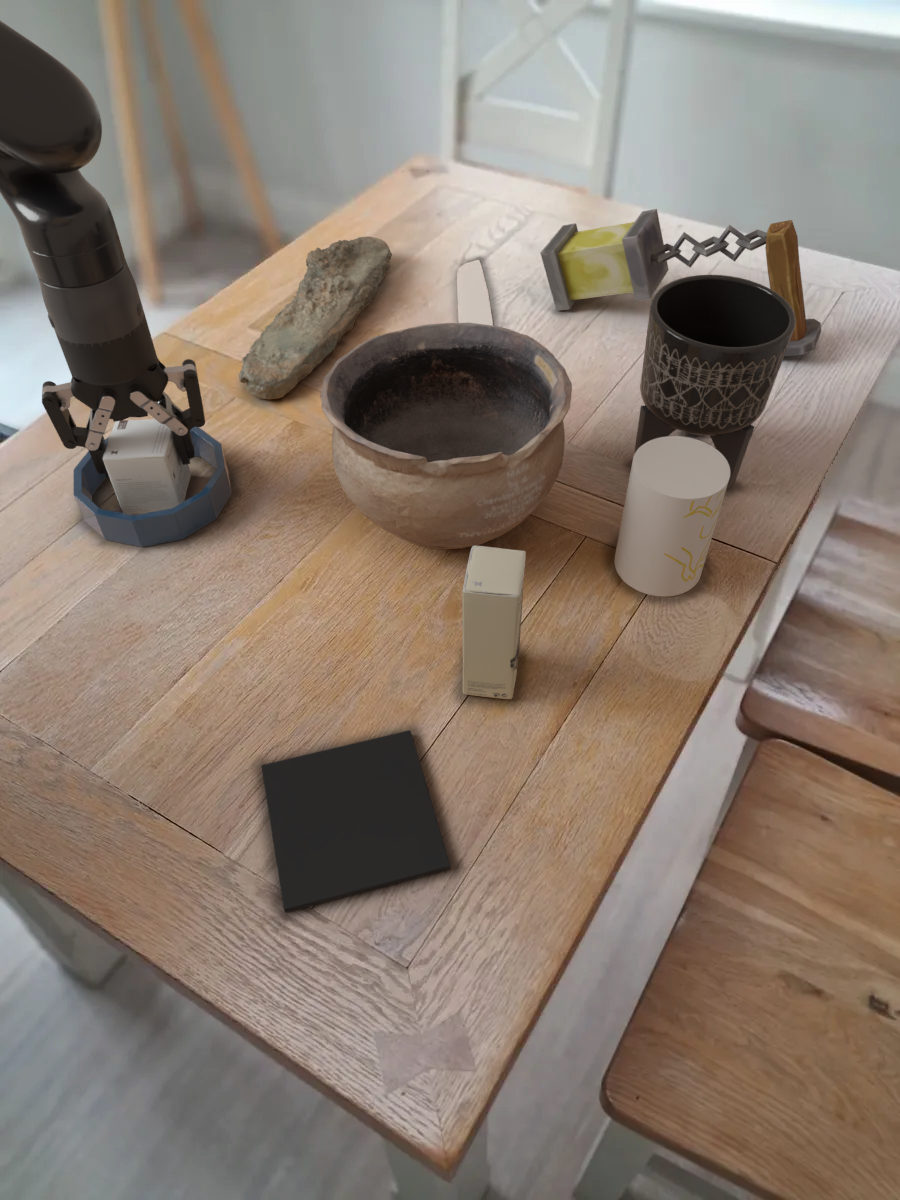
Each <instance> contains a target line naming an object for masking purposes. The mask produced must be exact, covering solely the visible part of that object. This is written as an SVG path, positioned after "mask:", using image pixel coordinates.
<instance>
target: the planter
mask: <svg viewBox="0 0 900 1200" xmlns="http://www.w3.org/2000/svg"><path fill="white" fill-rule="evenodd" d="M648 315H649V316H648V322H647V329H646V337H645V347H644V353H643V362H642V370H641V377H640V385H639V386H640V387H639V390H640V396H641V399H642V402H643V404H644V405H640V408H639V415H638V423H637V430H636V438H635V444H634V453H633V455H634V454H635V452H636V451H637V450H638V448H639V447H641V446H642V445H643V444H645V443H646V442H648V441H650V440H653V439H656V438H660V437H666V436H671V434H672V433H674V432H675V431H681V432H684V433H685V435H686V436H690V437H696V438H698V436H709V437H710V439H711V441H712V443H713V445H714V448H715V449H717V450H718V451H719V452H720V453H721V454H722V455H723V456H724V457H725V458H726V460H727V462H728V464H729V466H730V478H729V482H728V485H727V488H726V491H728V490H730V489H731V488H732V487H733V486H735V482H736V480H737V477H738V474H739V472H740V468H741V467H742V463H743V461H744V458H745V455H746V452H747V449H748V447H749V445H750V442H751V439H752V436H753V433H754V431H755V428H756V427H755V425H753V424H754V423H755V422H756V421H757V420H758V419H759V418H760V417H761V416H762V413H764V411H765V409H766V406H767V403H768V401H769V397H770V395H771V393H772V390H773V387H774V384H775V382H776V379H777V376H778V374H779V371H780V369H781V366H782V363H783V360H784V357H785V356H784V355H785V353H786V350H787V347H788V345H789V342H790V339H791V336H792V334H793V331H794V328H795V324H796V317H795V314H794V311H793V309H792V308H791V306H790V304H789V303H788V302H787V301H786V300H785V299H784V298H783V297H782V296H780V295H779V294H778V293H776V292H775V291H773V290H771V289H770V287H767V286H765V285H763V284H761V283H758V282H757V281H753V280H749V279H746V278H743V277H738V276H732V275H723V274H696V275H690V276H685V277H681V278H678V279H675V280H672V281H670V282H669V283H666V284H664V285H663V286H662V287H660V288H659V289H658V290H656V292H655V293H654V294H653V296H652V298H651V301H650V307H649V314H648Z"/></svg>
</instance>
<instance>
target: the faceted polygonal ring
mask: <svg viewBox="0 0 900 1200" xmlns="http://www.w3.org/2000/svg"><path fill="white" fill-rule="evenodd" d="M190 434H191V437H192V441H193V444H194V451H195V455H194V457H197V458H201V459H202V460H204V461H205V462H206V463H207V464H209V465H210V466H212V468H214V472H213V474H212V475H211V477H210V478H209V479H208V480H207V483H206V484H205V486H204V487H203V489H202V490H201V491H200V492H198V493H196V494H195V495H193V496H190V497H189V498H187V499H185V501H184V502H182V503H181V504H179V505H177V506H175V507H174V508H171V509H166V510H160V511H155V512H149V513H144V514H138V515H130V514H124V513H123V512H119V511H113V510H108V509H103V508H100V507H99V506H98V505H97V504H96V503H95V502H94V501H93V495H94V494H95V492H96V491H97V490H98V489H99V487H100V486H101V485H102V484H103V482H104V481H105V480H106V479H107V478H106V476H105V473H104V474H100V473H99V472H98V471H97V470H96V468H95V465H94V462H93V460H92V458H91V455H90V452H89V450H88V451H87V452H86V454H85V455H84V456H83V457H82V458H81V459H80V461H79V462H78V463H77V464H76V466H75V467H74V468H73V497H74V499H75V502H76V503H77V506H78V509H79V511H80V513H81V516H82V518H83V520H84V522H85V523H86V524H88V526H90V528H92V529H93V530H94V531H95V532H96V533H97V534H98V535H100V537H101V538H103V540H105V541H108V542H113V543H119V544H124V545H129V546H134V547H139V548H145V547H150V546H151V547H152V546H156V545H161V544H165V543H171V542H177V541H182V540H184V539H186V538H188V537H189V536H191V535H193V534H194V533H196V532H197V531H199V530H201V529H203V528H204V527H205V526H207V525H209V524H210V523H212V522H214V521H216V520H217V519H218V518H219V515H220V514H221V512H222V510H223V509H224V507H225V506H226V504H227V502H229V499H230V498H231V496H232V495H233V494H232V493H233V491H232V487H231V485H232V484H231V479H230V474H229V469H228V465H227V461H226V456H225V453H224V449H223V446H222V445H223V444H222V443H221V442H220V441H218V440H217V439H216V438H214V437H213V436H212V435H210V434H209V433H208V432H206V431H205V430H204V429H202V427H193V428H192V429H191V430H190ZM108 438H109V436H107V438H104V439H105V442H106V445H107V441H108Z"/></svg>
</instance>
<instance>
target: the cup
mask: <svg viewBox="0 0 900 1200" xmlns="http://www.w3.org/2000/svg"><path fill="white" fill-rule="evenodd" d="M634 452H635V451H634ZM630 467H631V468H630V472H629V479H628V484H627V489H626V495H625V500H624V505H623V511H622V515H621V523H620V527H619V533H618V536H617V537H618V538H617V543H616V548H615V553H614V554H615V555H614V558H613V559H614V562H613V563H614V568H615V570H616V573H617V574H618V577H620V579H621V580H622V581H623V582H624V583H625V584H626V585H627V586H629V587H630V588H632V589H634V590H636V591H638V592H640V593H642V594H645V595H648V596H653V597H662V598H663V597H664V598H665V597H674V596H675V597H676V596H679V595H682V594H684V593H687V592H689V591H690V590H692V589H693V588H694V587H695V586H696V585H697V584H698V582H699V581H700V579H701V576H702V573H703V569H704V566H705V563H706V559H707V556H708V553H709V549H710V546H711V542H712V539H713V535H714V532H715V530H716V529H715V528H716V525H717V522H718V519H719V515H720V512H721V509H722V505H723V502H724V498H725V495H726V491H727V490H726V488H727V485H728V482H729V478H730V466H729V464H728V462H727V460H726V458H725V457H724V456H723V455H722V454H721V453H720V452H719V451H718V450H717V449H716V448H715V446H712V445H711V444H710V443H707V442H704V441H702V440H699V439H696V438H692V437H689V436H681V435H669V436H666V437H660V438H656V439H653V440H650V441H648V442H646V443H645V444H643V445H642V446H641V447H639V448H638V450H637V451H636V452H635V454H634V453H633V457H632V461H631V466H630Z"/></svg>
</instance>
